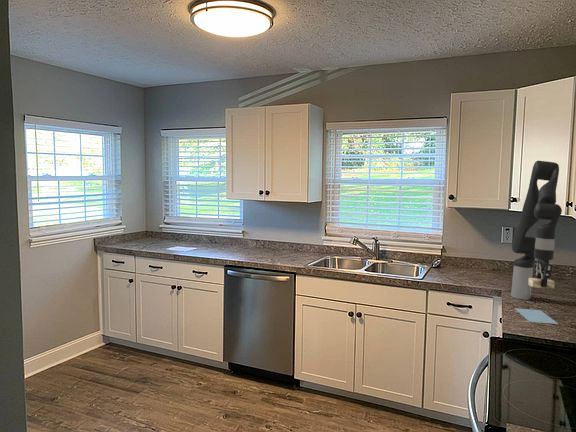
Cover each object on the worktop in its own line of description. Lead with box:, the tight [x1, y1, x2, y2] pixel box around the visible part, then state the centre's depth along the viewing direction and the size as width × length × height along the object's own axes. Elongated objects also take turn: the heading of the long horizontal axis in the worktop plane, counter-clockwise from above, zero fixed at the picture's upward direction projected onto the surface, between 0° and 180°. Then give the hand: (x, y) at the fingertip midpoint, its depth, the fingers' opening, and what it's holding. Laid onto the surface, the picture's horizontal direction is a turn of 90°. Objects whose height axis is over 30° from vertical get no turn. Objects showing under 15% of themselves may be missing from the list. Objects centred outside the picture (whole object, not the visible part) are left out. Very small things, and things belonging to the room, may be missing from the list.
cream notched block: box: [528, 277, 556, 289], centre depth 198 cm, size 9×5×3 cm, turn 81°
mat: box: [514, 307, 559, 325], centre depth 205 cm, size 20×12×1 cm, turn 170°
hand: (541, 285), depth 198 cm, fingers closed on cream notched block, 5 cm apart
